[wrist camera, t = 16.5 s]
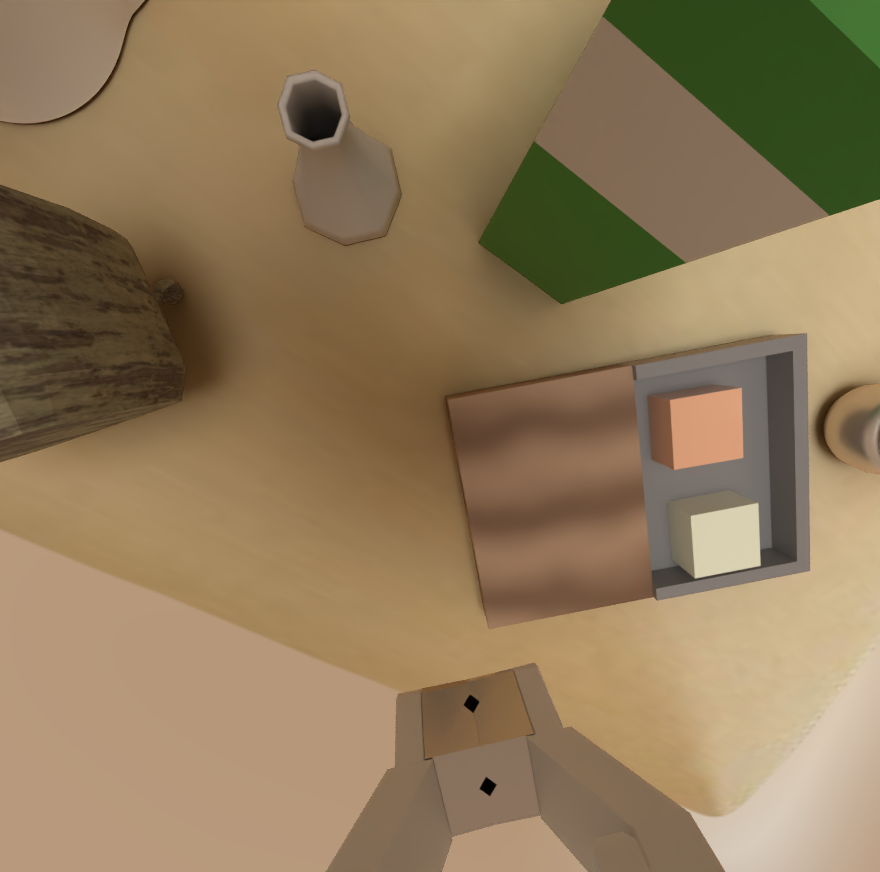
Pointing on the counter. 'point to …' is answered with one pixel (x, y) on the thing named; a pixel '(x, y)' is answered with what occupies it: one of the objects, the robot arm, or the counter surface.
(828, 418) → the plastic bottle
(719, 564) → the cream block
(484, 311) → the counter surface
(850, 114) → the hardback book
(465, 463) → the walnut board
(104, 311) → the tabletop clock
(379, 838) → the robot arm
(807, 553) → the tray
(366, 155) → the flask
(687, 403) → the orange square block
